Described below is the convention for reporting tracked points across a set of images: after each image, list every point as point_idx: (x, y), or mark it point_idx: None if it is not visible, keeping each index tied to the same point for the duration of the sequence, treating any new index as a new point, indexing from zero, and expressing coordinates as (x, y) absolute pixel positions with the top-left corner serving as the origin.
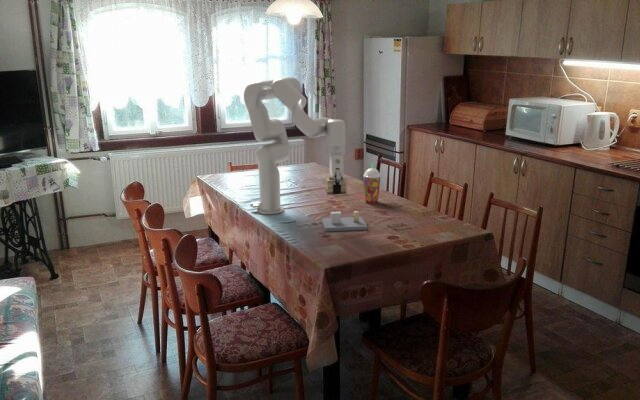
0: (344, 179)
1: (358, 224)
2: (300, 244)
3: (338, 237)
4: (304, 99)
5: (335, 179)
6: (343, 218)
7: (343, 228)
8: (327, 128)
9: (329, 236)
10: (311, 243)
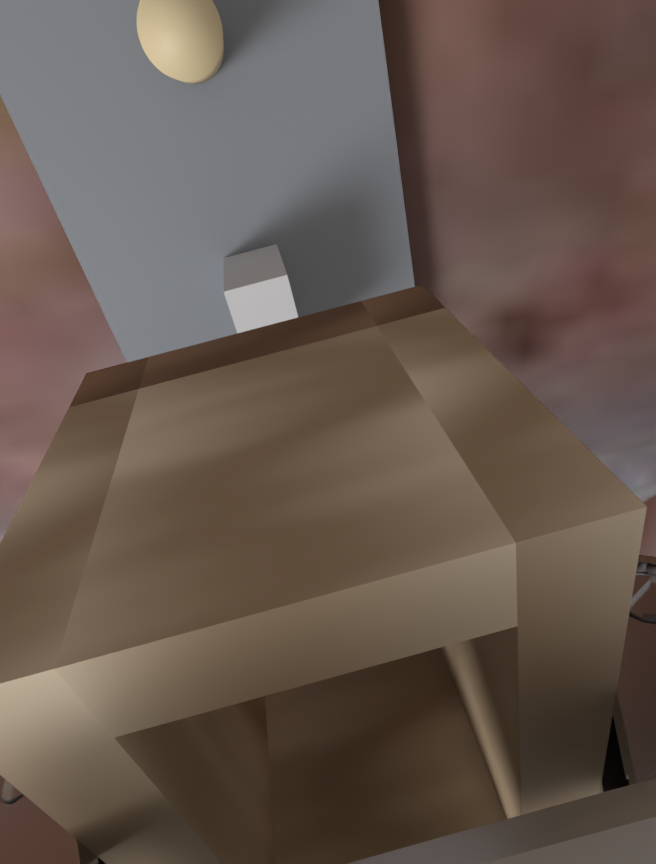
0: (499, 598)
1: (296, 7)
2: (647, 463)
3: (565, 228)
4: None
5: (212, 783)
6: (106, 231)
7: (399, 201)
8: None
9: (532, 307)
10: (646, 406)
